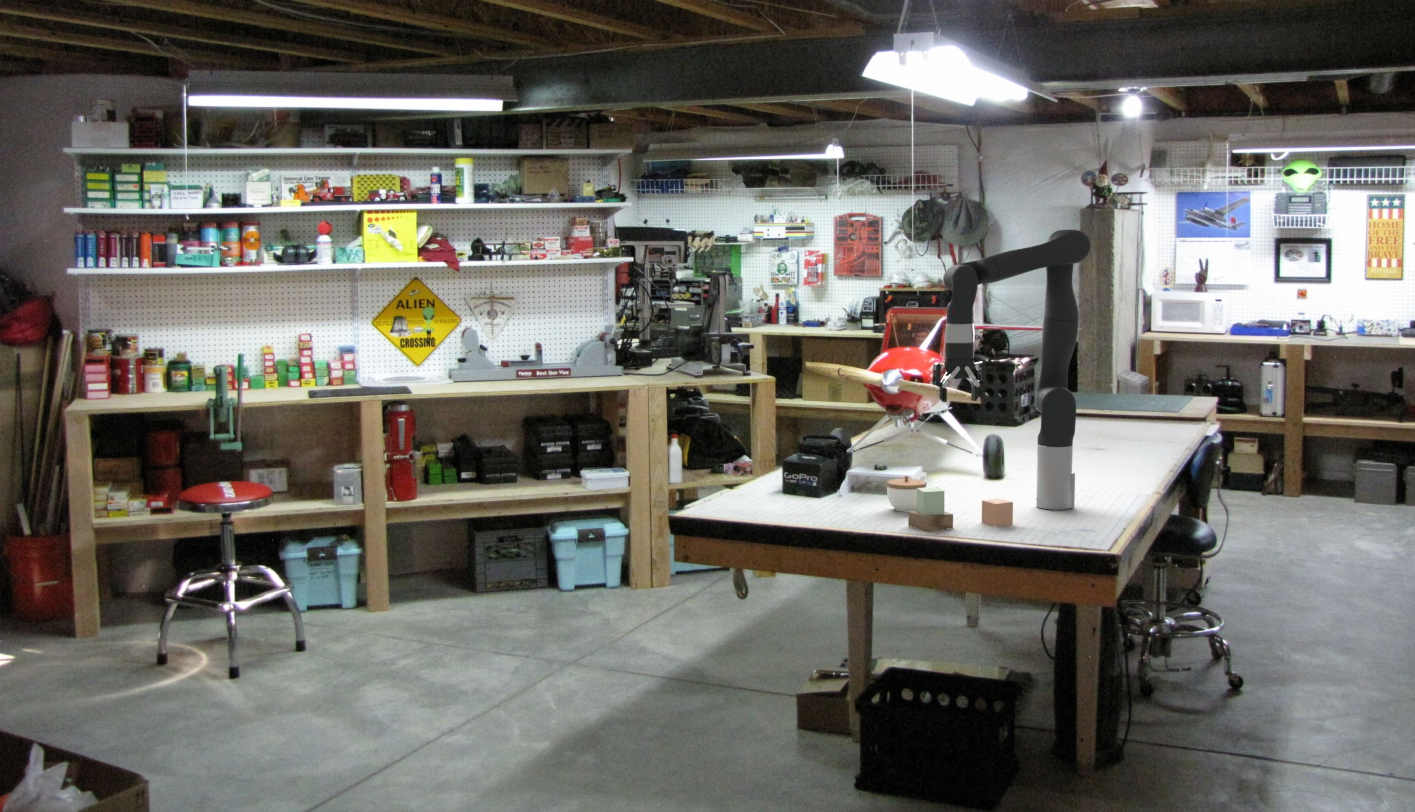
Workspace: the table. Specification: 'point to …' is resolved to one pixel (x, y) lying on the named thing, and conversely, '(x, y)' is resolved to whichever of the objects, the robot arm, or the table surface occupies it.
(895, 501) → the lidded jar
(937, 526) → the walnut base
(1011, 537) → the table surface
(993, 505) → the terracotta block
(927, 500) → the sage block
